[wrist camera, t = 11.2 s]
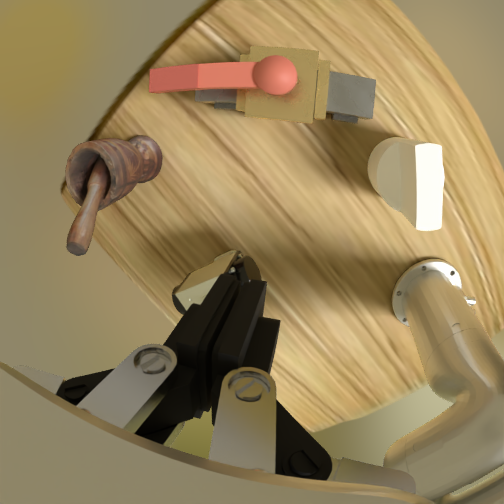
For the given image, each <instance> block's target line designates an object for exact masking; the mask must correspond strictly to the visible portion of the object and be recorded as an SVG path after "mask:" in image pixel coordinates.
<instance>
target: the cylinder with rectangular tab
mask: <svg viewBox="0 0 504 504" xmlns="http://www.w3.org/2000/svg"><path fill="white" fill-rule="evenodd" d="M367 171H368V176H369V180H370V182H371V184H372V186H373V188H374V189H375V190H376V191H377V193H378V194H379V195H380V196H381V197H382V198H383V199H384V201H385V202H386V203H387V204H388V205H389V206H391V207H392V208H393V209H395V210H397V211H399V212H401V213H402V214H403V215H404V216H405V217H406V218H407V219H408V220H409V222H410V223H411V224H412V225H413V226H414V227H415V228H416V229H417V230H422V231H432V230H437V229H440V228H441V223H442V198H443V186H444V169H443V165H442V146H440V145H437V144H433V143H428V142H423V141H418V140H413V139H407V138H401V137H392V138H388V139H385V140H383V141H381V142H380V143H379V144H378V145H377V146H376V147H375V148H374V149H373V151H372V152H371V154H370V157H369V160H368V170H367Z"/></svg>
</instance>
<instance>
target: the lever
mask: <svg viewBox="0 0 504 504" xmlns="http://www.w3.org/2000/svg"><path fill="white" fill-rule="evenodd" d="M297 80H298V76H297V72H296V68H295V66H294V65H293V63H292V62H291V61H290V60H289V59H287V58H285V57H283V56H279V55H272V56H268V57H265V58H264V59H262V60H261V61H260V62H223V63H206V64H190V65H180V66H171V67H163V68H156V69H150V82H149V92H151V93H166V92H177V91H191V90H207V89H262V90H264V91H265V92H267V93H268V94H271V95H274V96H281V95H285V94H288V93H289V92H291V91H292V90H293V89H294V88H295V86H296V84H297Z"/></svg>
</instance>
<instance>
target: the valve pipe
mask: <svg viewBox="0 0 504 504" xmlns="http://www.w3.org/2000/svg"><path fill="white" fill-rule="evenodd" d="M272 55H279V56H283V57H285V58H287V59H289V60H290V61H291V62H292V63H293V65H294V66H295V68H296V72H297V76H298V80H297V84H296V86H295V88H294V89H293V90H292V91H291V92H289V93H288V94H285V95H281V96H274V95H271V94H268V93H267V92H265V91H264V90H262V89H207V90H196V93H195V101H197V102H204V103H214V108H215V109H230V110H238V111H244V112H245V117H252V118H260V119H272V120H282V121H291V122H300V123H308V124H312V123H313V113H314V119H318V120H324V119H325V118H326V113H331V114H333V115H332V120H337V121H343V122H349V123H357V121H358V118H360V119H372V118H373V108H374V98H375V86H376V80H374V79H370V78H365V77H360V76H355V75H349V74H343V73H337V72H331V71H330V61H325V60H319V65H318V55H319V51H314V50H305V49H295V48H282V47H263V46H250V54H240V62H260V61H261V60H262V59H264V58H265V57H268V56H272ZM317 68H318V70H317Z"/></svg>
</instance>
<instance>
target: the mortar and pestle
mask: <svg viewBox="0 0 504 504" xmlns="http://www.w3.org/2000/svg"><path fill="white" fill-rule="evenodd" d="M161 165H162V153H161V150H160V148H159V146H158V144H157V143H156V142H155V141H154V140H153V139H151V138H149V137H147V136H136V137H134V138H132V139H130V140H129V141H128V142H127V141H124V140H121V139H114V138H108V139H99V140H93V141H88V142H84V143H81V144H79V145H77V146H76V147H75V148H74V149H73V151H72V153H71V155H70V156H69V158H68V161H67V165H66V182H67V187H68V190H69V192H70V194H71V195H72V198H73V199H74V200H75V201H76V203H78V204H79V205H80V206H81V209H80V211H79V212H78V214H77V216H76V218H75V220H74V222H73V224H72V226H71V229H70V231H69V234H68V237H67V250H68V251H69V252H70V253H72V254H74V255H76V256H80V255H84V254H86V252H87V250H88V248H89V245H90V242H91V239H92V235H93V231H94V227H95V220H96V215H97V212H98V211H99V210H102V209H103V208H105V207H107V206H109V205H111V204H112V203H114V202H116V201H118V200H119V199H121V198H123V197H124V196H126V195H127V194H128V193H129V192H130V191H132V189H133V188H134V187H135V186H136V185H137V183H145V182H147V181H150V180H152V179H154V178H155V177H156V176H157V175H158V173H159V172H160V169H161Z"/></svg>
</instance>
